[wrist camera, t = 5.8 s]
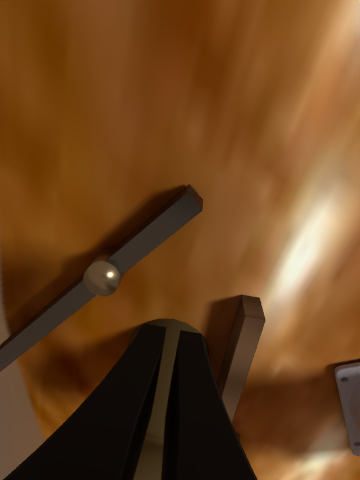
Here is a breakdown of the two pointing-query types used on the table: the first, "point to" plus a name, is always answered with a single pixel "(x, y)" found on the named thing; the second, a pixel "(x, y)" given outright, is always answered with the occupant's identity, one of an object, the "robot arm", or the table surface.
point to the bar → (104, 272)
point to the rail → (240, 351)
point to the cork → (160, 401)
